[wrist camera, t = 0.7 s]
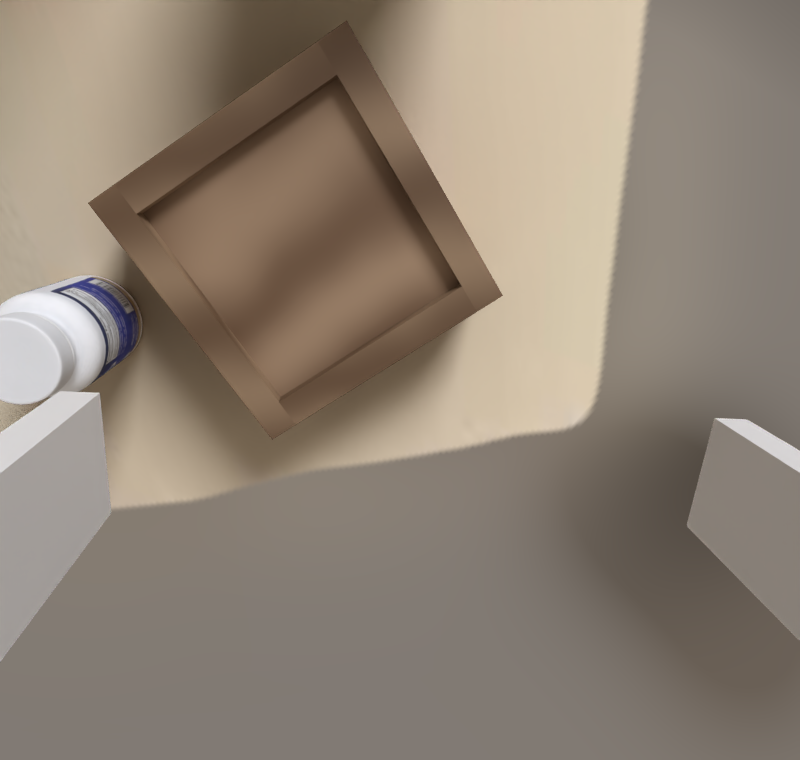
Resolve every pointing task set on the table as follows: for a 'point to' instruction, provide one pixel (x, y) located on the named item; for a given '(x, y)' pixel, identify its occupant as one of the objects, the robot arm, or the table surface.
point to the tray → (301, 235)
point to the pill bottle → (64, 337)
